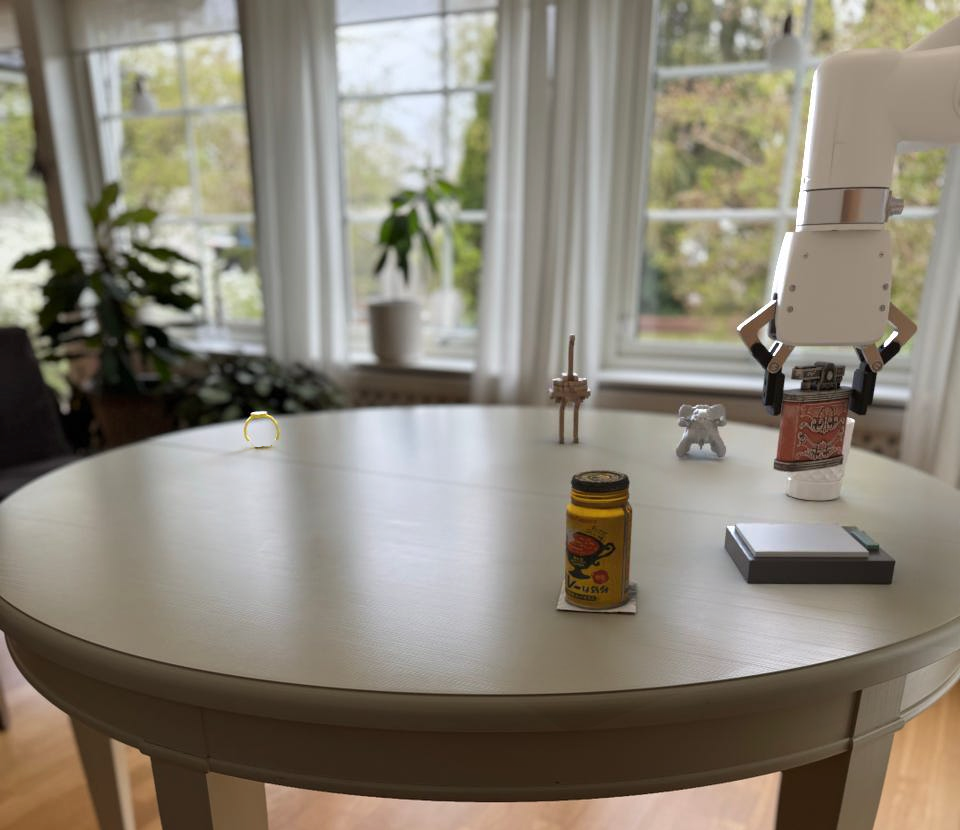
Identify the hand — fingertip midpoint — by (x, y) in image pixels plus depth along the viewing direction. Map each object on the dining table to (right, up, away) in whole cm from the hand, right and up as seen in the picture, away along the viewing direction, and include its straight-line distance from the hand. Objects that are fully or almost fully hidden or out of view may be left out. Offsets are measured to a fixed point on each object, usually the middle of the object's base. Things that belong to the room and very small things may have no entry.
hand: (814, 412), depth 87 cm
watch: (-71, +11, +69) cm, 99 cm away
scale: (+1, -14, +6) cm, 16 cm away
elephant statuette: (+3, +8, +58) cm, 58 cm away
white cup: (+12, -3, +32) cm, 34 cm away
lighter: (0, -5, +2) cm, 5 cm away
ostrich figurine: (-18, +14, +73) cm, 76 cm away
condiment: (-22, -18, -1) cm, 28 cm away
